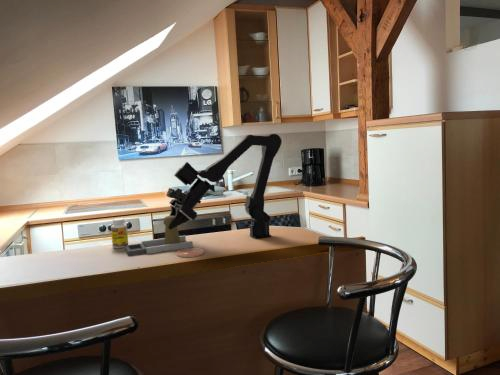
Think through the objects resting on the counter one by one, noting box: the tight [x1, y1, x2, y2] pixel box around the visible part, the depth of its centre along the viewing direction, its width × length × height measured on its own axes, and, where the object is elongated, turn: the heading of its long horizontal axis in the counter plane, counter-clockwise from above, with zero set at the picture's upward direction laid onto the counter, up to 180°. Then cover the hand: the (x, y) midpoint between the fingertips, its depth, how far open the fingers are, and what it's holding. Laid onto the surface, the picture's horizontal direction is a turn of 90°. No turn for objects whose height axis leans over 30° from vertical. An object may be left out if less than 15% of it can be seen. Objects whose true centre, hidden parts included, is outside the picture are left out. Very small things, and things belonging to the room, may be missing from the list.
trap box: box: [124, 242, 147, 257], centre depth 144 cm, size 6×9×2 cm, turn 23°
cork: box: [163, 215, 181, 245], centre depth 149 cm, size 6×6×11 cm
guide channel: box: [141, 234, 194, 255], centre depth 149 cm, size 16×11×2 cm
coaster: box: [176, 247, 205, 258], centre depth 139 cm, size 9×9×1 cm
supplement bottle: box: [110, 217, 129, 249], centre depth 151 cm, size 6×6×10 cm
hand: (167, 227), depth 148 cm, fingers closed on cork, 5 cm apart
